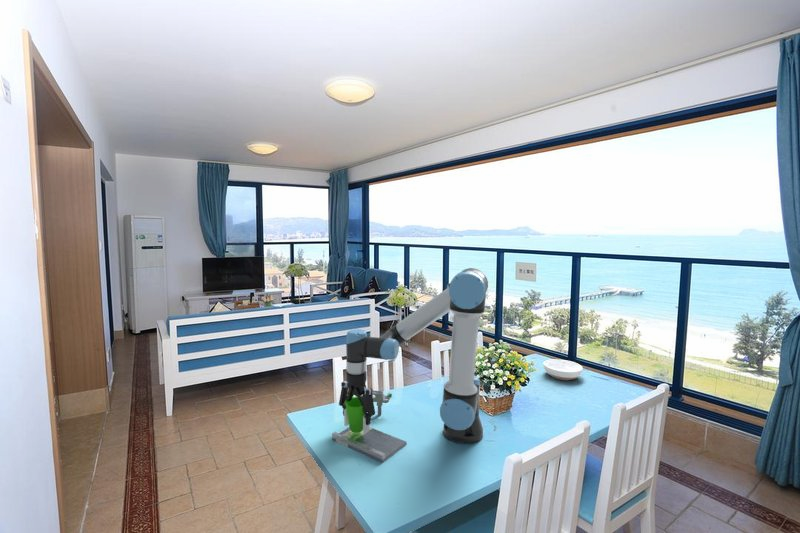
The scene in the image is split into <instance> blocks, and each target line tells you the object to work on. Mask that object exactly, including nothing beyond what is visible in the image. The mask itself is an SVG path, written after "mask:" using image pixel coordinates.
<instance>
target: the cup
mask: <svg viewBox="0 0 800 533" xmlns="http://www.w3.org/2000/svg"><path fill="white" fill-rule="evenodd" d="M345 405H346V409H347V415H348V421H349V425H348V426H349V427H350V430H351V432H354V433H358V432H361V431H363V417H364V416H365V415H364V412H363V409H362V407H363V406H361V403H360V400H358V397H357V396H353V398H352V400H350V401H349V402H347V400H346V401H345ZM349 427H348V428H349Z"/></svg>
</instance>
